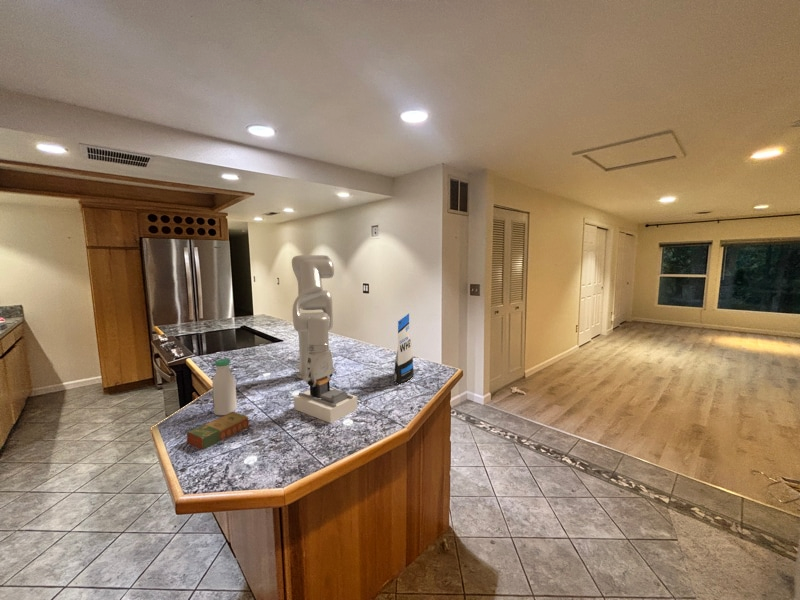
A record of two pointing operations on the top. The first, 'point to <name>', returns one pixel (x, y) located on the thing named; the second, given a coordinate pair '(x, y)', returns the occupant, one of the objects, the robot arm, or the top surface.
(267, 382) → the top surface
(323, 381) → the plug
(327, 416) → the socket
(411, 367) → the protein powder
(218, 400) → the milk bottle
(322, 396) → the shutter
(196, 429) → the carton
